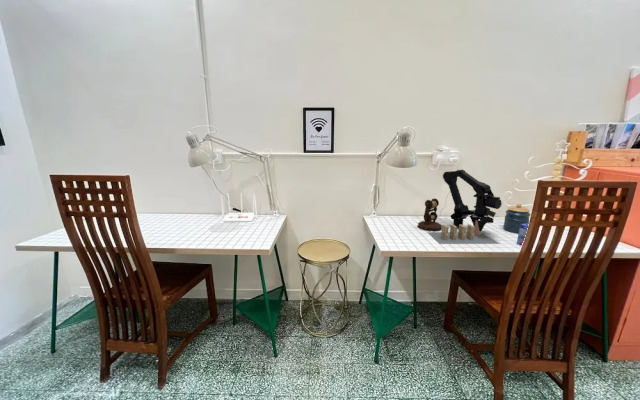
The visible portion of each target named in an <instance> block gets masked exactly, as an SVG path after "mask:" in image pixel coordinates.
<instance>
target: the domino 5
mask: <svg viewBox="0 0 640 400" xmlns="http://www.w3.org/2000/svg"><path fill="white" fill-rule="evenodd" d="M481 232H482V231H479V227H478V222H477V220H475V230H474V233H476V234H477V235H481Z"/></svg>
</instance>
